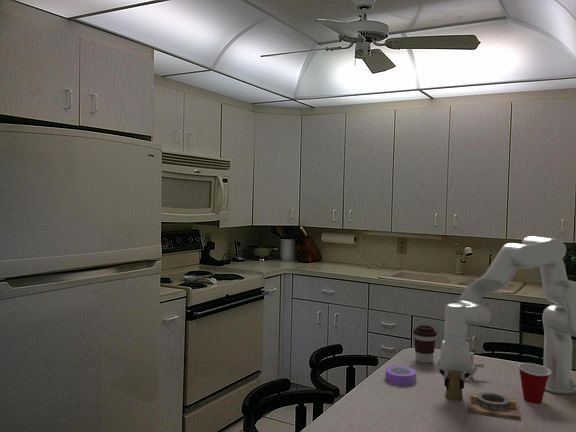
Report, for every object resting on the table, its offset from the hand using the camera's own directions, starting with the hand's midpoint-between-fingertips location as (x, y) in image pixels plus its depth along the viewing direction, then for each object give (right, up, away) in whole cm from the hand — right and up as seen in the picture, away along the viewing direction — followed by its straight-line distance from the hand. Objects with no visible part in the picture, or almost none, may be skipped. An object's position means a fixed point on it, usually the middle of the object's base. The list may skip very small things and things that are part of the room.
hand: (454, 388), depth 185 cm
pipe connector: (+14, -3, +22) cm, 26 cm away
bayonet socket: (+11, -4, -7) cm, 14 cm away
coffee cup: (0, -2, +42) cm, 42 cm away
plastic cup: (+28, -4, -1) cm, 28 cm away
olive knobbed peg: (0, -3, 0) cm, 3 cm away
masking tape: (-15, -3, +18) cm, 24 cm away
